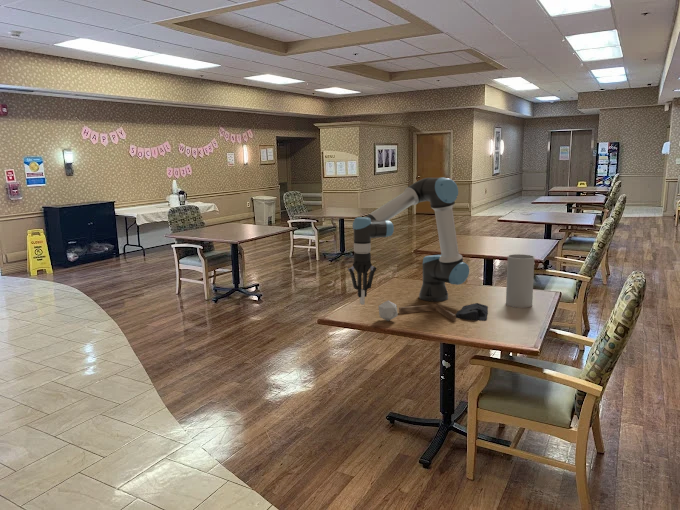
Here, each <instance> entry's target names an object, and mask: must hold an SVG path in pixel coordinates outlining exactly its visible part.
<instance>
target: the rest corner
mask: <svg viewBox="0 0 680 510" xmlns="http://www.w3.org/2000/svg"><path fill="white" fill-rule="evenodd" d="M432 311H436V312H438V313H440V314H441V315H443V316H444V317H446V318H447V319H449V320H450V321H452V322H457V321H456V320H457V318H456V315H455V314H456V313H453V312H452V311H450V310H448V309H446V308H444V307H443V306H441V305H440V304H438V303H433V304H424V305H413V306H412V305H411V306H400V307H398V315H399V314H402V315H403V314H409V313H420V312H421V313H422V312H432Z"/></svg>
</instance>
